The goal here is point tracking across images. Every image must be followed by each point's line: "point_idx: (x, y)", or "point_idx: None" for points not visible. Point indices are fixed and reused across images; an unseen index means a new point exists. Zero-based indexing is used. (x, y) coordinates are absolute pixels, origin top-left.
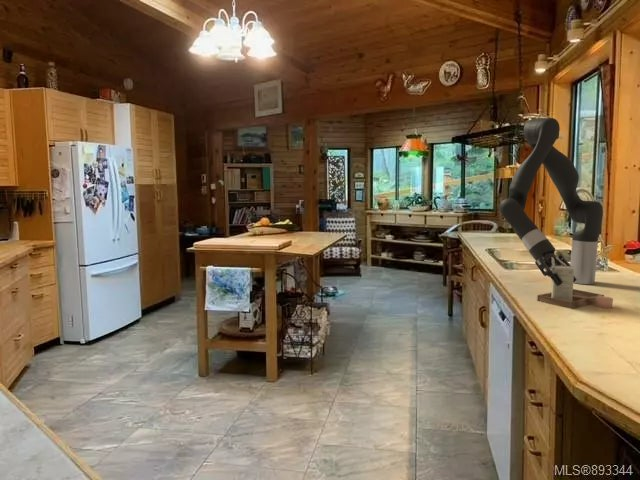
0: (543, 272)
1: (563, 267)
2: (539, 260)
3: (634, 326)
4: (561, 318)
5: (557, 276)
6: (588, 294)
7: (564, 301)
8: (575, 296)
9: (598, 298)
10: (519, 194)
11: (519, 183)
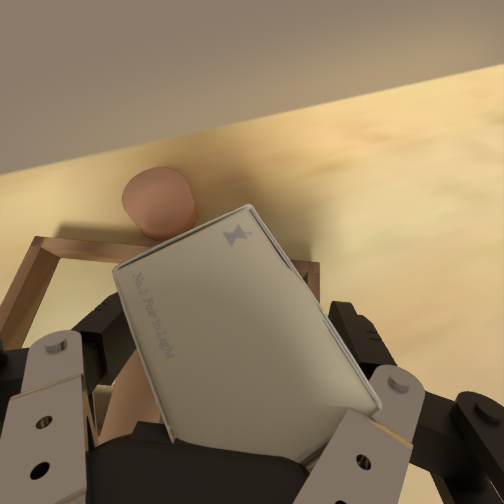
0: (497, 496)
1: (283, 309)
2: None
3: (349, 98)
4: (486, 237)
5: (368, 337)
6: (22, 305)
7: (319, 299)
8: None
9: (186, 204)
10: None
11: None
